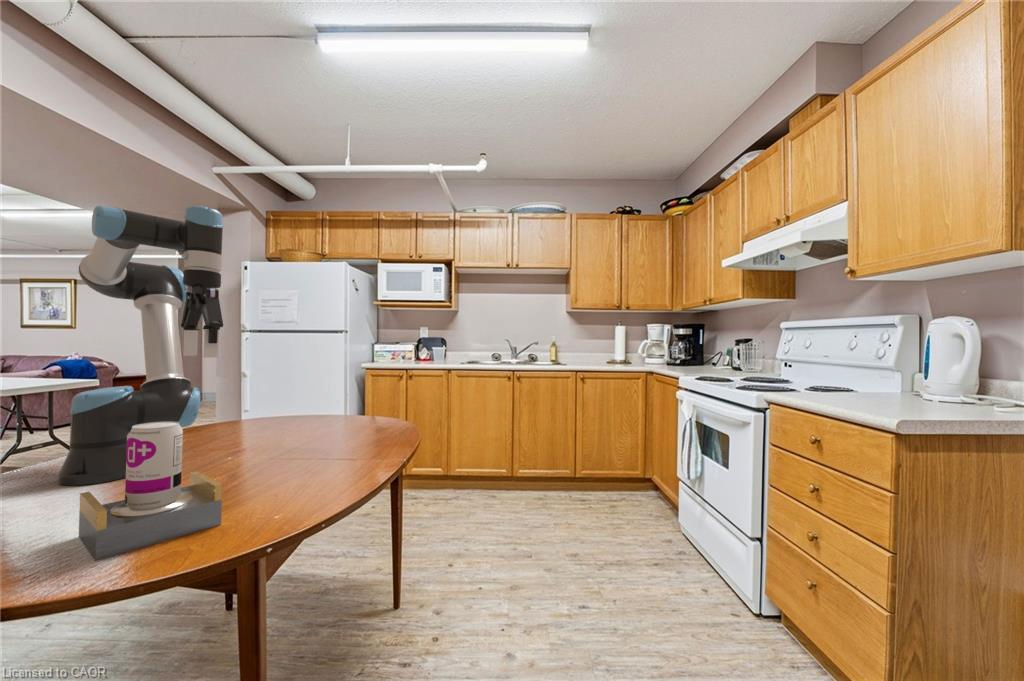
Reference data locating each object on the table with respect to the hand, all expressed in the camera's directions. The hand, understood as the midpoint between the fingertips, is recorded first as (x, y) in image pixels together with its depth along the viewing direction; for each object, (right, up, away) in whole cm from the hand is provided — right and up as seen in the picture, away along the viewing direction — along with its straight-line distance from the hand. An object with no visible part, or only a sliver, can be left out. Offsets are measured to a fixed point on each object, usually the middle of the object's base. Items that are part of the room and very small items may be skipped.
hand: (200, 356), depth 103 cm
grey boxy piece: (+8, -33, -23) cm, 40 cm away
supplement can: (+8, -28, -22) cm, 36 cm away
